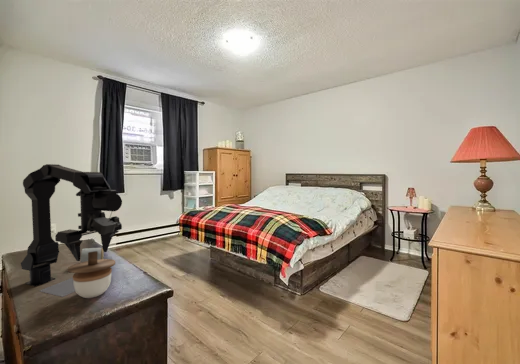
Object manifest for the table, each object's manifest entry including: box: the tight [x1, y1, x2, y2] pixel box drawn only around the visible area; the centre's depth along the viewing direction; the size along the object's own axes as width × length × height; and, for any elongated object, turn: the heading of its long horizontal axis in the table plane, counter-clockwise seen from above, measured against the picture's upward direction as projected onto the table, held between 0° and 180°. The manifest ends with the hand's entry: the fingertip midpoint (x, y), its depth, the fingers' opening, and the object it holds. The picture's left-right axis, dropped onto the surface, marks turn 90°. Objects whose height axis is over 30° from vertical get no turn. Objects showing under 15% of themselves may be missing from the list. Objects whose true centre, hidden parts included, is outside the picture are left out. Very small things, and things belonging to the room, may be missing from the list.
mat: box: [39, 277, 76, 298], centre depth 86 cm, size 12×12×1 cm
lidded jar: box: [72, 267, 113, 299], centre depth 81 cm, size 11×11×9 cm
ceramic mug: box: [80, 247, 105, 263], centre depth 108 cm, size 11×8×8 cm
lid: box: [67, 251, 116, 274], centre depth 81 cm, size 13×13×5 cm
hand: (92, 256), depth 81 cm, fingers open, 9 cm apart
